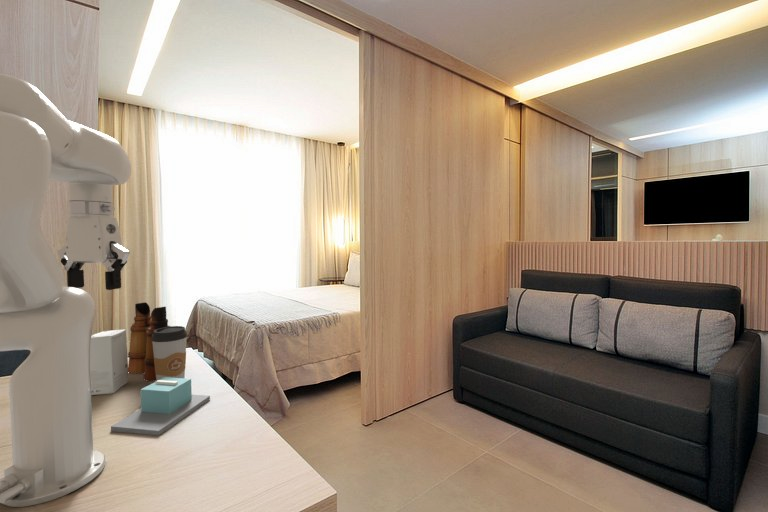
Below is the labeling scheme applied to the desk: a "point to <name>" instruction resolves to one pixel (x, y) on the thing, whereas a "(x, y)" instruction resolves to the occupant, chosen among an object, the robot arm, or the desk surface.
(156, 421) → the board
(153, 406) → the teal box
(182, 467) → the desk surface
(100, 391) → the skincare box
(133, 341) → the binoculars
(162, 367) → the coffee cup
